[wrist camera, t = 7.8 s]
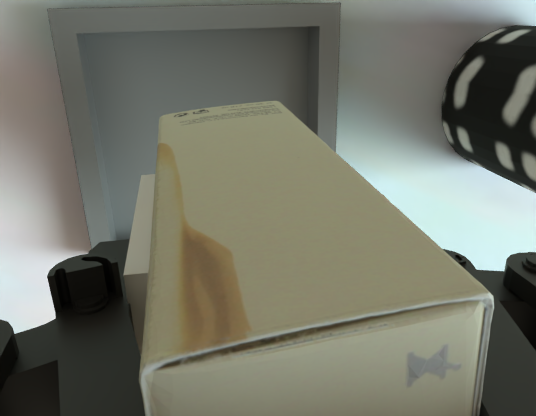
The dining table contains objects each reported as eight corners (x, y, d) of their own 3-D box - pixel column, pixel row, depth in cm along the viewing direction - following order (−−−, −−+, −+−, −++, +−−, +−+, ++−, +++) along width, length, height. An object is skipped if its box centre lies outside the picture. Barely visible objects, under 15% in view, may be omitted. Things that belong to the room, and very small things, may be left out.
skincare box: (155, 112, 16) (115, 342, 5) (281, 96, 16) (510, 267, 5) (186, 277, 18) (207, 678, 7) (294, 257, 19) (468, 602, 8)
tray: (102, 254, 27) (96, 275, 25) (59, 9, 22) (46, 8, 20) (319, 231, 29) (332, 249, 27) (324, 3, 24) (340, 2, 22)
